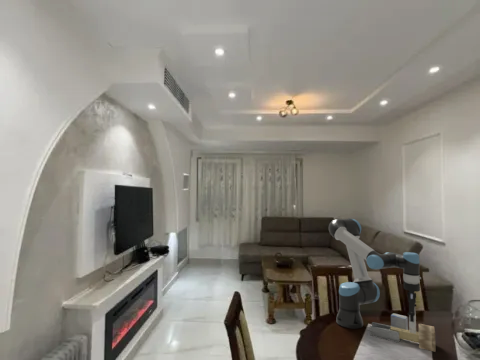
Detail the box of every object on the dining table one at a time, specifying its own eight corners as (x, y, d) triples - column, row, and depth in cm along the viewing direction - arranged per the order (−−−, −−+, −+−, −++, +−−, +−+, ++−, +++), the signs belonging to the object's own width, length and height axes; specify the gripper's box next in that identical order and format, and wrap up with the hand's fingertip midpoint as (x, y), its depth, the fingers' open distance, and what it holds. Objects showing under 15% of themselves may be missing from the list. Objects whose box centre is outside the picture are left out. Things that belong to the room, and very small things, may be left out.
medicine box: (408, 332, 167) (407, 316, 168) (406, 334, 164) (405, 318, 164) (393, 327, 172) (392, 312, 173) (390, 330, 169) (390, 314, 170)
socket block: (419, 347, 149) (418, 329, 150) (418, 340, 157) (418, 323, 157) (435, 351, 145) (435, 333, 146) (434, 344, 153) (434, 326, 154)
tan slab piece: (390, 336, 158) (389, 309, 159) (390, 333, 161) (390, 307, 162) (430, 345, 149) (429, 317, 150) (429, 342, 152) (429, 314, 153)
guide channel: (370, 335, 162) (370, 326, 162) (372, 330, 168) (371, 322, 168) (399, 342, 155) (398, 332, 155) (399, 337, 160) (399, 327, 161)
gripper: (420, 289, 144) (420, 333, 143) (419, 278, 165) (420, 316, 164) (402, 286, 148) (403, 330, 146) (404, 276, 169) (405, 313, 168)
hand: (412, 323), depth 155 cm, fingers open, 13 cm apart
